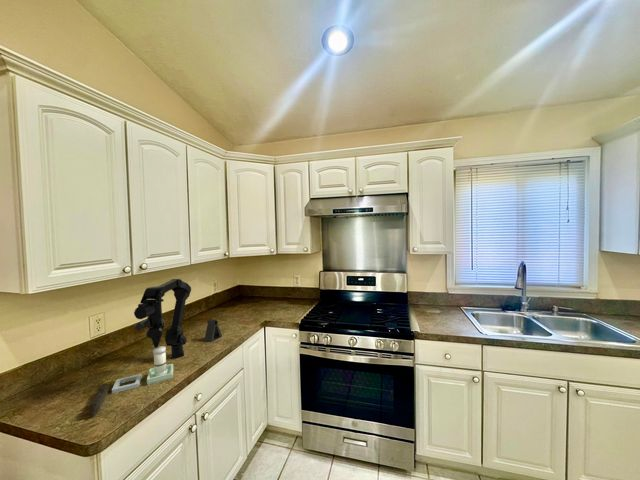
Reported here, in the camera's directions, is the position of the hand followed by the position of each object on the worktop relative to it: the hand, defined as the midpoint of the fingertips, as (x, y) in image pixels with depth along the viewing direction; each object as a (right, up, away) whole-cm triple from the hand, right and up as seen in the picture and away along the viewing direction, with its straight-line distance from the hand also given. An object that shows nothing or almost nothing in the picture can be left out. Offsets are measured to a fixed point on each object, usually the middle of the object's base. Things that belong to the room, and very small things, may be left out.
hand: (157, 344), depth 135 cm
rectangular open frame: (-6, -14, -12) cm, 19 cm away
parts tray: (+5, -13, -6) cm, 15 cm away
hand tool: (-8, -15, -25) cm, 30 cm away
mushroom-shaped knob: (+5, -12, -6) cm, 14 cm away
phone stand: (+13, -11, +39) cm, 42 cm away
